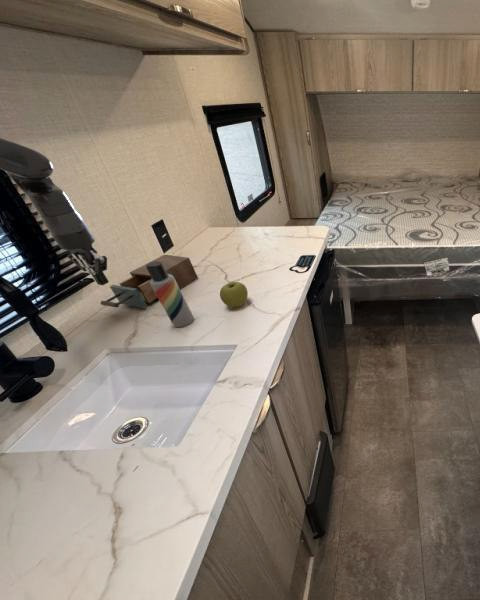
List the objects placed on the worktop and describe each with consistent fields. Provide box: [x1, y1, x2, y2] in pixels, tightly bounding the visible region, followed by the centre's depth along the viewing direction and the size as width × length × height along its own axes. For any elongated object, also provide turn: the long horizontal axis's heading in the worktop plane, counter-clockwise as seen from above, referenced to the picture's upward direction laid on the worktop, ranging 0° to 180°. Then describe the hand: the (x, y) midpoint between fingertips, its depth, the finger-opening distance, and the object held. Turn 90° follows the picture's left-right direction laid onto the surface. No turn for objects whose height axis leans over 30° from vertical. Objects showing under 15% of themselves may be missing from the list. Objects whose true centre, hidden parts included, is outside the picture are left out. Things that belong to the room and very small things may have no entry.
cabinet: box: [129, 254, 199, 291], centre depth 115 cm, size 14×12×9 cm
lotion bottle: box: [146, 261, 195, 328], centre depth 93 cm, size 6×6×20 cm
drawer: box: [100, 275, 158, 309], centre depth 106 cm, size 18×10×7 cm, turn 163°
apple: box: [219, 281, 249, 308], centre depth 103 cm, size 8×8×7 cm
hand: (103, 283), depth 97 cm, fingers closed
